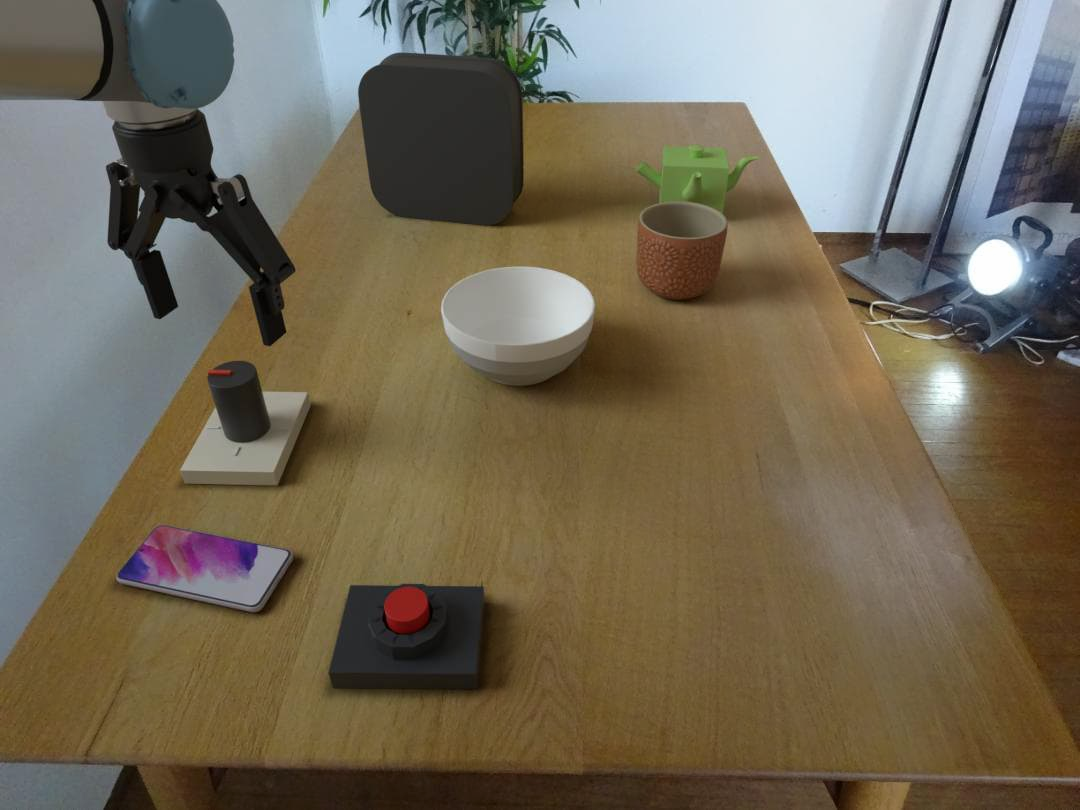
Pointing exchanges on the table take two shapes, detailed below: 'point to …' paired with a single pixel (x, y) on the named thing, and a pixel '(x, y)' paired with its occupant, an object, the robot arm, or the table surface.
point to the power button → (407, 610)
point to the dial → (239, 401)
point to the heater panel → (248, 446)
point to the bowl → (518, 323)
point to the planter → (680, 248)
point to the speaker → (443, 136)
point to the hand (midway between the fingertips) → (219, 325)
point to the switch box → (410, 641)
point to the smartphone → (206, 567)
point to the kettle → (695, 175)
